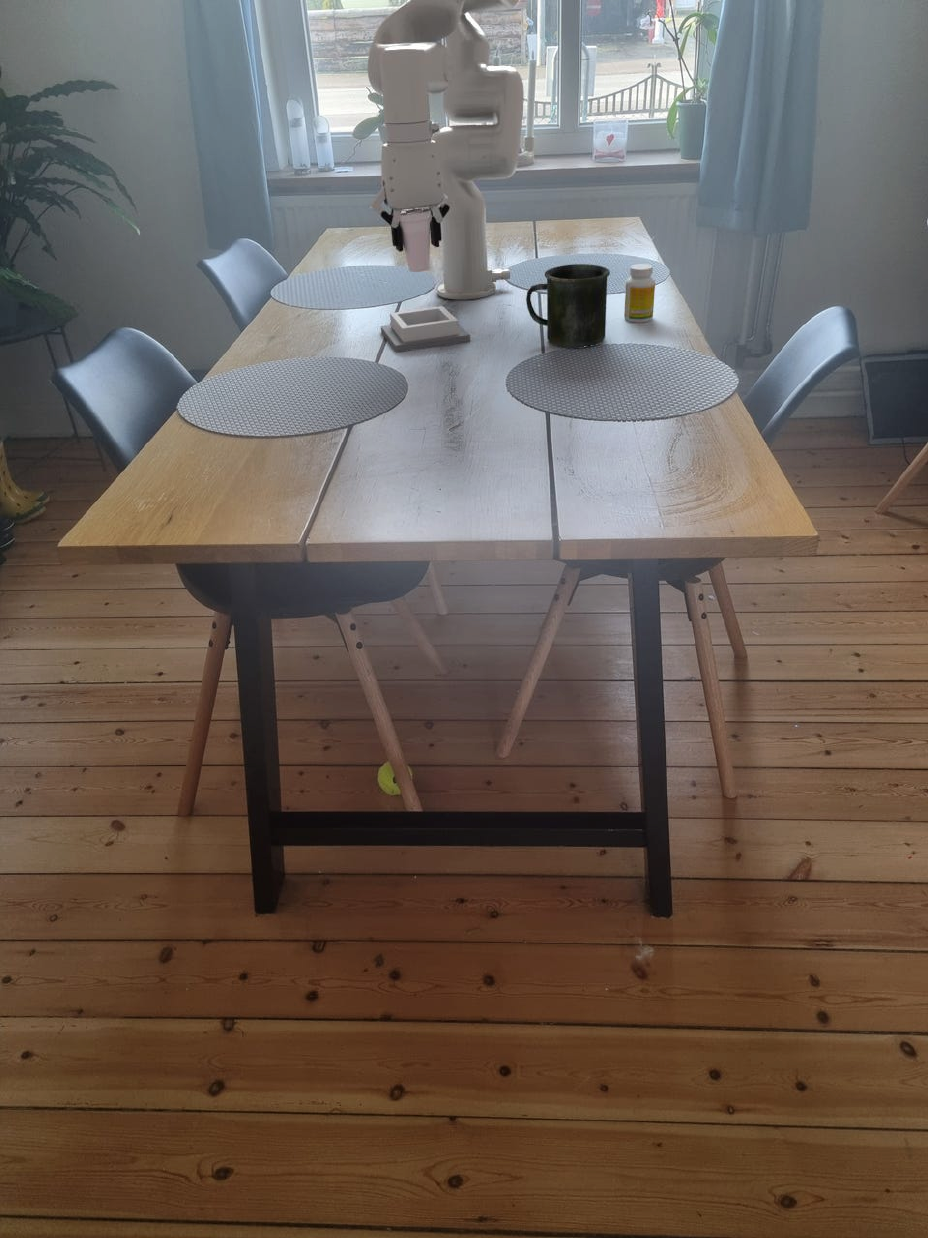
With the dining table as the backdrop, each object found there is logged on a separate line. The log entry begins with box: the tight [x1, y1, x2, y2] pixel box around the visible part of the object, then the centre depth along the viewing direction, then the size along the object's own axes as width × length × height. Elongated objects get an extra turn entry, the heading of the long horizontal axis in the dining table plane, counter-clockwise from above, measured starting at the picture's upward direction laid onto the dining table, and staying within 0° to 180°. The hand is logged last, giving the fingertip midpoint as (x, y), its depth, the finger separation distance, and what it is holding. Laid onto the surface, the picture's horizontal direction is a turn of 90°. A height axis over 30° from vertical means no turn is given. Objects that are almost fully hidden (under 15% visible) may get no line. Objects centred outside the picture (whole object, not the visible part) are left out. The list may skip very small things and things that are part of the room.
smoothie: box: [399, 207, 432, 273], centre depth 159 cm, size 6×6×14 cm
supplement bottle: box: [623, 263, 656, 324], centre depth 169 cm, size 5×5×10 cm
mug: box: [525, 263, 611, 349], centre depth 160 cm, size 11×15×12 cm
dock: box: [380, 305, 471, 353], centre depth 169 cm, size 14×13×4 cm
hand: (417, 246), depth 161 cm, fingers closed on smoothie, 5 cm apart
